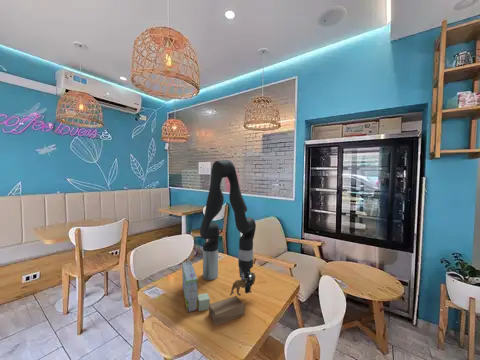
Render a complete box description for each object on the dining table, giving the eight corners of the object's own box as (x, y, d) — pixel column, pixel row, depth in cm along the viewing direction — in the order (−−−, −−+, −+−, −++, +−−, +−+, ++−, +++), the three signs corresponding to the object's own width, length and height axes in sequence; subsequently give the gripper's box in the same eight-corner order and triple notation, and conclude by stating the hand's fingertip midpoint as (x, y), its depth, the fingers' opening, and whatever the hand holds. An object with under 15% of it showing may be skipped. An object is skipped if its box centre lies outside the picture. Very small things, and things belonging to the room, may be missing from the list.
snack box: (181, 289, 115) (181, 262, 115) (192, 287, 117) (191, 260, 117) (186, 313, 96) (186, 280, 95) (198, 310, 98) (198, 278, 97)
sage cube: (197, 305, 102) (197, 294, 102) (207, 302, 103) (207, 293, 103) (198, 311, 97) (198, 300, 97) (209, 309, 99) (209, 298, 98)
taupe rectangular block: (208, 315, 95) (208, 304, 95) (236, 305, 102) (236, 295, 101) (215, 326, 88) (215, 314, 88) (244, 315, 95) (244, 304, 94)
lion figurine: (251, 285, 112) (252, 269, 112) (257, 290, 108) (258, 273, 107) (227, 294, 104) (227, 276, 104) (232, 299, 100) (233, 281, 99)
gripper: (234, 252, 111) (233, 284, 112) (244, 264, 98) (243, 299, 99) (247, 251, 114) (246, 281, 115) (258, 261, 100) (258, 296, 101)
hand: (245, 289), depth 107 cm, fingers closed on lion figurine, 4 cm apart
